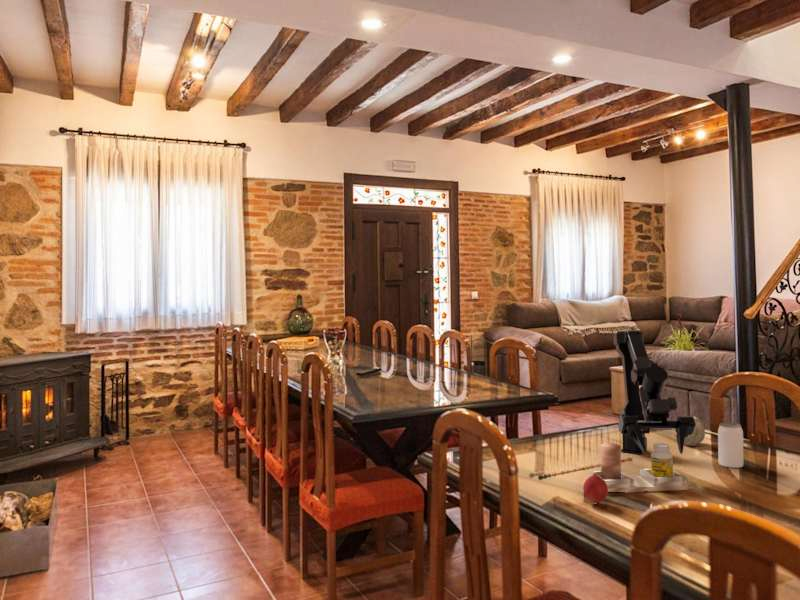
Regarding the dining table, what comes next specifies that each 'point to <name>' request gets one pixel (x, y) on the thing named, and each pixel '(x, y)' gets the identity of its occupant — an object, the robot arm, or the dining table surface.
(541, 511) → the dining table surface
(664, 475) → the supplement bottle
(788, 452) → the dining table surface
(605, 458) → the candle holder
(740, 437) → the can
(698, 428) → the grey round lump
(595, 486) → the onion
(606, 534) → the dining table surface
